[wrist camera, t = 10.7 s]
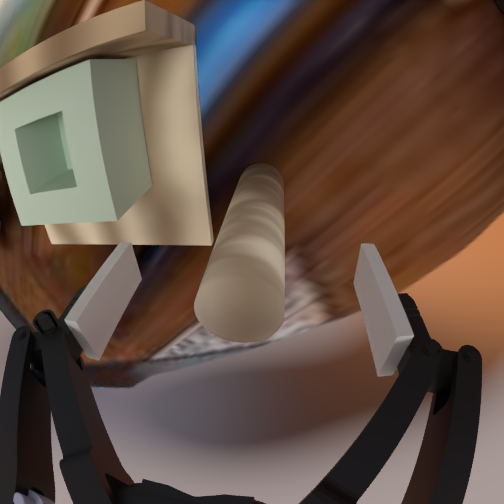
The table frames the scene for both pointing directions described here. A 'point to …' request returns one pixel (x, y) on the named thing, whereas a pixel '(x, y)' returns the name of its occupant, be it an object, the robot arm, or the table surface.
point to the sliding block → (76, 144)
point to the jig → (153, 116)
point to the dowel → (247, 262)
